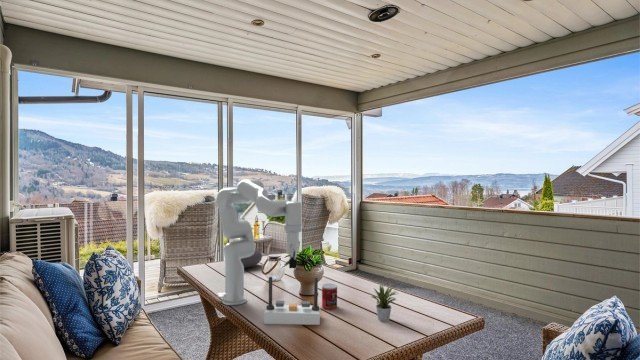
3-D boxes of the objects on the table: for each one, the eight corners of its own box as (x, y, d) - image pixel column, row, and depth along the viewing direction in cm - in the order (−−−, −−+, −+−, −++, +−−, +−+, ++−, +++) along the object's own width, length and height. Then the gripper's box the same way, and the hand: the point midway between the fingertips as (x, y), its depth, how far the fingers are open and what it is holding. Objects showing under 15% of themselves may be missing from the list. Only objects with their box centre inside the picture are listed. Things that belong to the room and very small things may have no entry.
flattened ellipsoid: (259, 271, 253) (259, 250, 253) (223, 271, 252) (223, 249, 252) (264, 263, 278) (264, 243, 277) (231, 262, 277) (231, 243, 277)
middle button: (288, 309, 167) (288, 306, 167) (289, 307, 171) (289, 303, 171) (296, 310, 167) (296, 306, 167) (297, 307, 171) (297, 303, 171)
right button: (301, 307, 167) (301, 303, 167) (302, 304, 171) (302, 301, 171) (309, 307, 167) (309, 303, 167) (310, 304, 171) (310, 301, 171)
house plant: (392, 329, 160) (392, 292, 159) (363, 322, 167) (363, 286, 167) (403, 318, 172) (403, 284, 172) (375, 312, 179) (376, 279, 179)
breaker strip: (264, 323, 164) (264, 312, 164) (267, 315, 174) (267, 304, 174) (319, 324, 164) (319, 313, 164) (320, 316, 174) (320, 305, 174)
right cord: (311, 310, 167) (311, 278, 167) (311, 308, 171) (312, 276, 171) (319, 310, 167) (319, 278, 167) (319, 308, 171) (320, 276, 170)
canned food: (326, 311, 181) (326, 288, 180) (319, 305, 188) (319, 284, 187) (339, 308, 184) (340, 286, 184) (332, 303, 191) (332, 282, 191)
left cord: (265, 310, 168) (266, 277, 167) (267, 307, 171) (267, 275, 171) (273, 310, 167) (273, 277, 167) (274, 307, 171) (275, 275, 171)
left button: (275, 306, 167) (275, 303, 167) (276, 303, 171) (276, 300, 171) (283, 306, 167) (283, 303, 167) (284, 304, 171) (284, 300, 171)
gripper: (287, 225, 177) (286, 263, 177) (283, 230, 162) (282, 271, 162) (302, 226, 176) (302, 263, 177) (300, 230, 161) (299, 272, 162)
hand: (292, 267), depth 169 cm, fingers closed
